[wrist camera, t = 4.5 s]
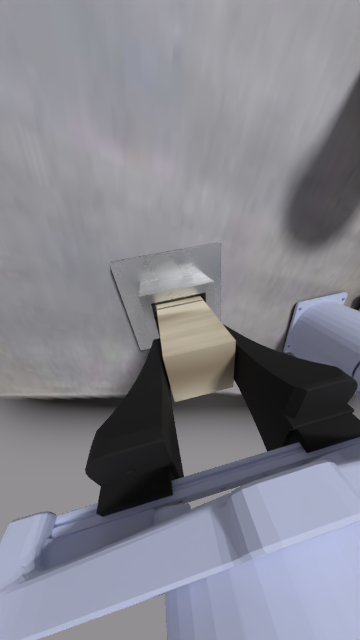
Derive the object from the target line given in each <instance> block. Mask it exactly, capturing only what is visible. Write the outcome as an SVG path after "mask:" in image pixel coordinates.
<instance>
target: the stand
mask: <svg viewBox="0 0 360 640" xmlns="http://www.w3.org/2000/svg"><path fill="white" fill-rule="evenodd" d="M109 264H110V267H111V270H112V273H113V275H114V278H115V281H116V284H117V286H118V289H119V292H120V295H121V297H122V300H123V303H124V306H125V308H126V311H127V314H128V317H129V319H130V322H131V325H132V328H133V331H134V333H135V336H136V339H137V342H138V344H139V347H140V350H145V349H149V348H151V346H152V342H153V340H154V339H158V338H160V331H159V323H158V315H157V310H156V309H157V307H156V302H161V301H166V300H171V299H176V298H181V297H186V296H190V295H195V294H199V295H200V296H201V298H202V299H203V300H204V301H205V303H206V304H207V305H208V306H209V308H210V309H211V310H212V311H213V313H214V314H215V315H216V316H217V318H218V319H219V320H220V321H221V243H212V244H206V245H200V246H195V247H189V248H184V249H178V250H172V251H167V252H161V253H156V254H150V255H144V256H139V257H133V258H128V259H122V260H116V261H111V262H110V263H109Z"/></svg>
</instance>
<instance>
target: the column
mask: <svg viewBox="0 0 360 640" xmlns="http://www.w3.org/2000/svg"><path fill="white" fill-rule="evenodd" d="M156 307H157V309H156V310H157V315H158V323H159V331H160V339H161V347H162V355H163V360H164V364H165V368H166V371H167V375H168V379H169V382H170V386H171V390H172V393H173V397H174V401H175V402H178V401H181V400H185V399H189V398H192V397H197V396H200V395H204V394H208V393H212V392H216V391H219V390H223V389H227V388H231V387H233V381H234V365H235V348H236V340H235V339H234V338H233V336H232V335H231V334H230V333H229V331H228V330H227V329H226V328H225V326H224V325H223V324H222V323H221V321H220V320H219V319H218V318H217V316H216V315H215V314H214V313H213V311H212V310H211V309H210V308H209V306H208V305H207V304H206V303H205V301H204V300H203V299H202V298H201V296H200V295H199V294H195V295H190V296H186V297H181V298H176V299H171V300H166V301H161V302H156Z"/></svg>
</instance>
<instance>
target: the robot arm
mask: <svg viewBox="0 0 360 640" xmlns="http://www.w3.org/2000/svg"><path fill="white" fill-rule="evenodd" d="M347 295H348V294H347V293H345V292H342V293H338V294H333V295H329V296H324V297H320V298H315V299H311V300H306V301H302V302H298V303H297V304H296V306H295V310H294V313H293V317H292V321H291V324H290V328H289V332H288V335H287V339H286V342H285V346H284V350H283V351H284V352H285V353H288V352H291V353H292V354H293V355H294V356H295V357H293V356H290V355H287V354H284V353H281V352H278V351H275V350H272V349H270V348H267V347H265V346H263V345H260V344H258V343H256V342H254V341H252V340H250V339H248V338H246V337H244V336H242V335H241V334H239V333H237V332H235V331H234V330H232V329H230V328H229V327H227V326H225V325H224V326H225V328H226V329H227V330H228V331H229V333H230V334H231V335H232V336H233V338H234V339H235V340H236V348H235V365H234V380H235V382H236V384H237V385H238V387H239V389H240V391H241V393H242V395H243V397H244V399H245V401H246V404H247V406H248V408H249V410H250V412H251V414H252V416H253V419H254V421H255V423H256V426H257V428H258V430H259V433H260V435H261V437H262V440H263V442H264V445H265V447H266V449H267V452H265V453H261V454H258V455H255V456H252V457H248V458H245V459H242V460H239V461H235V462H232V463H229V464H225V465H222V466H219V467H215V468H212V469H209V470H206V471H202V472H199V473H195V474H192V475H189V476H186V477H184V475H183V469H182V463H181V457H180V452H179V446H178V440H177V434H176V428H175V422H174V415H173V410H172V403H171V390H170V382H169V379H168V375H167V371H166V368H165V364H164V360H163V355H162V347H161V339H160V338H158V339H154V340H153V342H152V346H151V349H150V352H149V355H148V357H147V360H146V362H145V364H144V366H143V369H142V371H141V373H140V374H139V376H138V378H137V380H136V382H135V383H134V385H133V386H132V388H131V389H130V391H129V392H128V394H127V395H126V397H125V398H124V400H123V401H122V402H121V403H120V405H119V406H118V407H117V408H116V410H115V411H114V412H113V414H112V415H111V416H110V417H109V418H108V419H107V420H106V421H105V423H104V424H103V425H102V426H101V427H100V428H99V429H98V430H97V431H96V434H95V437H94V440H93V443H92V446H91V449H90V453H89V457H88V461H87V465H86V468H85V471H86V474H87V475H88V477H89V478H91V479H92V480H93V481H94V482H96V483H97V484H98V485H100V486H101V490H100V495H99V500H98V503H97V504H93V505H90V506H86V507H84V508H80V509H77V510H73V511H70V512H67V513H63V514H60V515H57V516H56V514H54V513H52V512H40V513H36V514H32V515H29V516H26V517H22V518H19V519H16V520H13V521H11V522H10V523H9V525H8V527H7V529H6V531H5V533H4V536H3V538H2V540H1V542H0V640H37V639H40V638H43V637H45V636H48V635H51V634H54V633H56V632H59V631H62V630H65V629H68V628H70V627H73V626H76V625H79V624H81V623H84V622H87V621H90V620H92V619H95V618H98V617H101V616H104V615H106V614H109V613H112V612H115V611H117V610H120V609H123V608H126V607H128V606H131V605H134V604H137V603H139V602H142V601H145V600H148V599H151V598H154V597H156V596H159V595H162V594H165V604H166V623H167V640H360V420H359V419H358V418H357V417H356V416H355V415H353V414H352V413H353V412H354V410H353V408H351V407H350V406H349V405H348V404H347V402H348V401H349V400H350V398H351V397H352V396H353V394H354V393H355V391H356V397H357V399H358V400H359V402H360V311H357V310H355V309H352V308H350V307H347V306H344V305H343V304H344V302H345V300H346V298H347ZM241 485H242V486H241ZM238 486H240V487H239V488H237V489H236V490H234V491H232V492H231V493H229V494H226V495H224V496H222V497H219V498H217V499H214V500H212V501H210V502H207V503H205V504H202V505H200V506H198V507H195V508H193V509H191V508H190V505H189V504H188V503H187V502H191V501H194V500H197V499H200V498H203V497H206V496H210V495H213V494H216V493H219V492H222V491H226V490H229V489H232V488H235V487H238ZM185 503H187V504H185Z"/></svg>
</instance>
